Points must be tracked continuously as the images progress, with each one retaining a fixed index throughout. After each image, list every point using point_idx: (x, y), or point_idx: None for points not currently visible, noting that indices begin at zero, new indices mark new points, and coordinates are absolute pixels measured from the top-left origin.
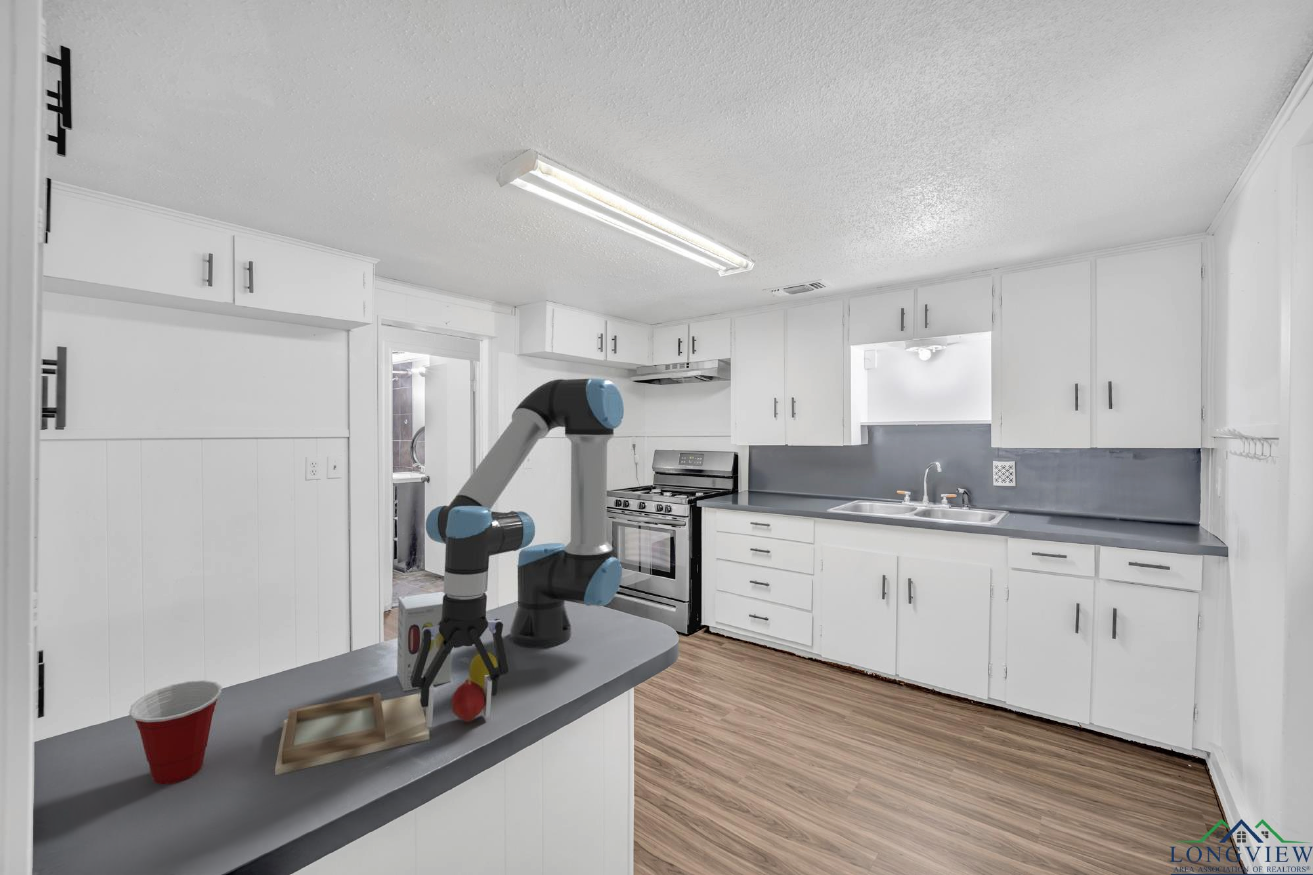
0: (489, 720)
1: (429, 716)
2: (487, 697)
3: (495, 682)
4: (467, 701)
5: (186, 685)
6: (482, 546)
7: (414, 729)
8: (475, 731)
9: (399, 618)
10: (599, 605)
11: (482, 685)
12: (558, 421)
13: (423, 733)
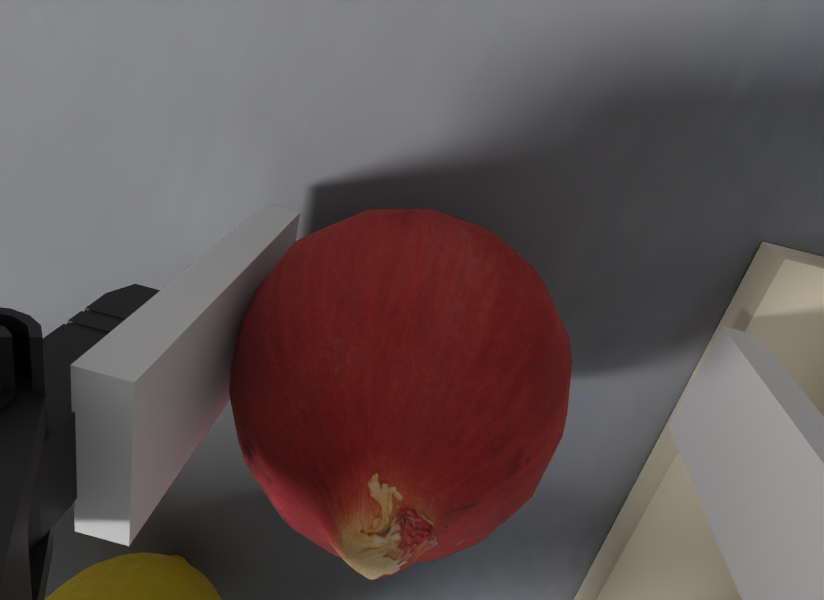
0: (278, 197)
1: (785, 381)
2: (228, 276)
3: (45, 361)
4: (479, 282)
5: None
6: None
7: (819, 382)
8: (437, 111)
9: None
10: None
11: (177, 572)
12: None
13: (814, 288)
